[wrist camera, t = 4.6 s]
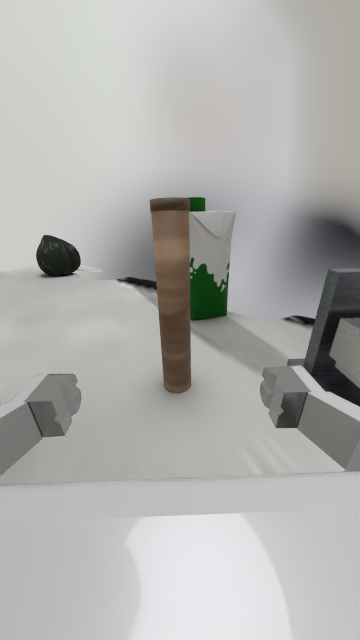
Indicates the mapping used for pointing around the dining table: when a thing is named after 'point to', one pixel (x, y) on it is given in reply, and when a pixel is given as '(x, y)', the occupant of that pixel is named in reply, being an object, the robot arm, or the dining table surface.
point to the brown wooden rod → (173, 288)
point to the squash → (57, 256)
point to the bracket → (336, 337)
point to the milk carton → (209, 259)
